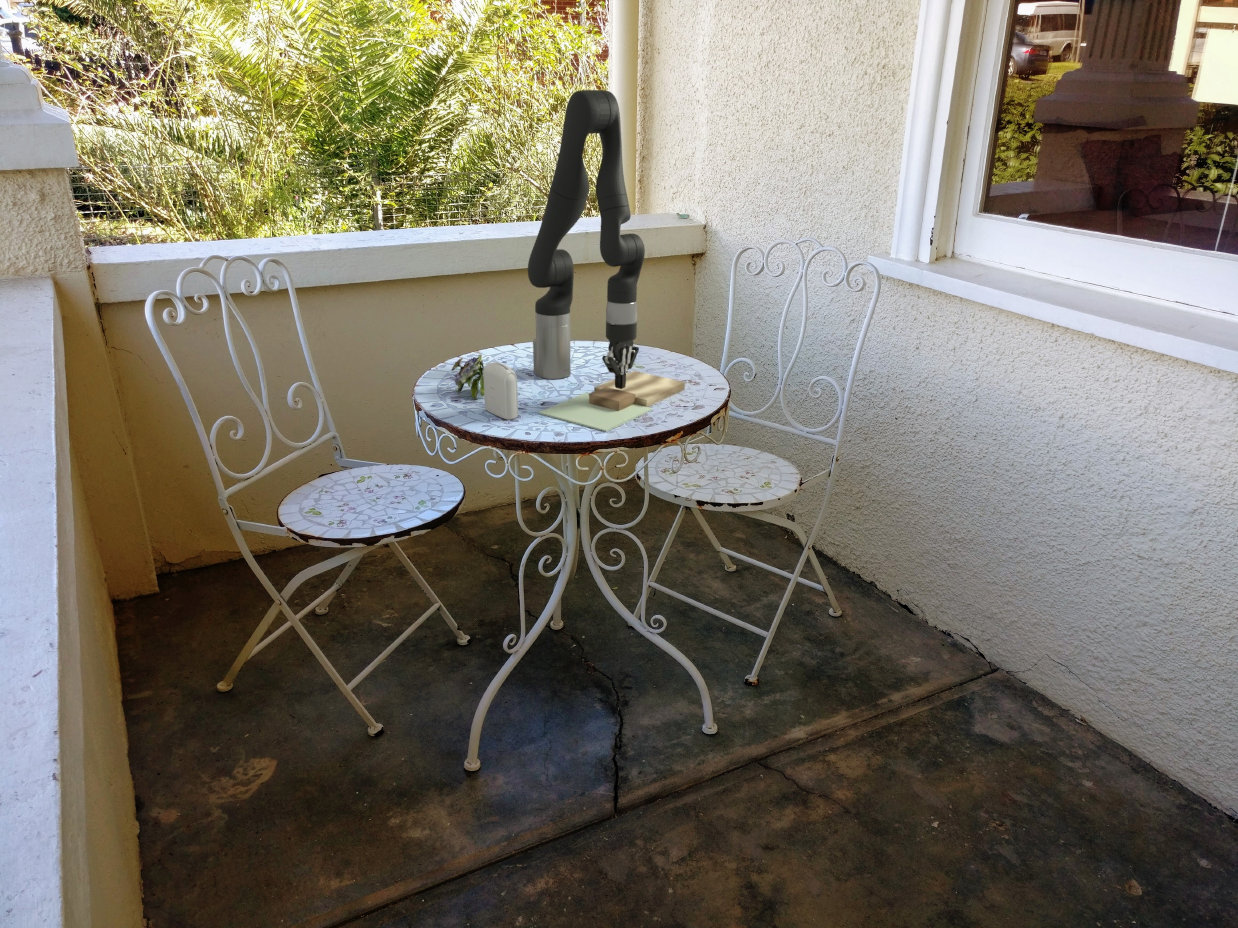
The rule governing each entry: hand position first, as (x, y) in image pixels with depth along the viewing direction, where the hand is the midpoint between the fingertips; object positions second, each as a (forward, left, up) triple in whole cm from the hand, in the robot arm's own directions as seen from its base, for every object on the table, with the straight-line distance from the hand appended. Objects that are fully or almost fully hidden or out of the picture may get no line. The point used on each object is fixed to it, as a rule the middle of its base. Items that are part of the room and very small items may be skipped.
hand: (620, 387), depth 219 cm
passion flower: (-33, -17, -4) cm, 37 cm away
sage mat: (0, -10, -4) cm, 11 cm away
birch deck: (0, +9, -4) cm, 10 cm away
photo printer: (-17, -25, -4) cm, 31 cm away
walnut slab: (0, -4, -3) cm, 5 cm away
